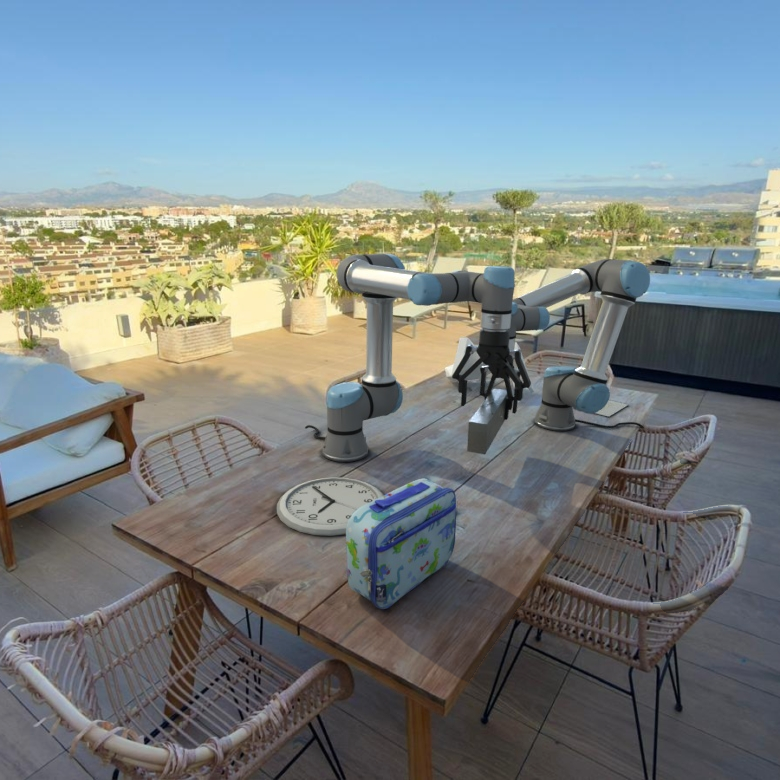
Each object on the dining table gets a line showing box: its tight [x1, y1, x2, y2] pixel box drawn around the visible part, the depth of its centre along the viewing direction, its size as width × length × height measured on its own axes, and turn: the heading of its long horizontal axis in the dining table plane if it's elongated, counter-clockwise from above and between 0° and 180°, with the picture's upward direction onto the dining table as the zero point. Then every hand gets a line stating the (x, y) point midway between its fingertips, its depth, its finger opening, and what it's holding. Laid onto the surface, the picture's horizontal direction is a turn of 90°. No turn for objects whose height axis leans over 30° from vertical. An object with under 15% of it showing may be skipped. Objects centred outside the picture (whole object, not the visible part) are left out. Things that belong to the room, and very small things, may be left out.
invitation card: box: [595, 399, 629, 418], centre depth 226 cm, size 21×1×15 cm
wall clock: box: [276, 476, 385, 537], centre depth 142 cm, size 30×2×30 cm
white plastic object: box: [444, 336, 535, 394], centre depth 249 cm, size 37×45×31 cm
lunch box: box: [345, 477, 457, 610], centre depth 110 cm, size 26×11×21 cm, turn 134°
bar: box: [466, 388, 508, 455], centre depth 164 cm, size 34×5×9 cm, turn 157°
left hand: (488, 408), depth 139 cm, fingers open, 13 cm apart
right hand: (497, 417), depth 177 cm, fingers closed on bar, 5 cm apart
